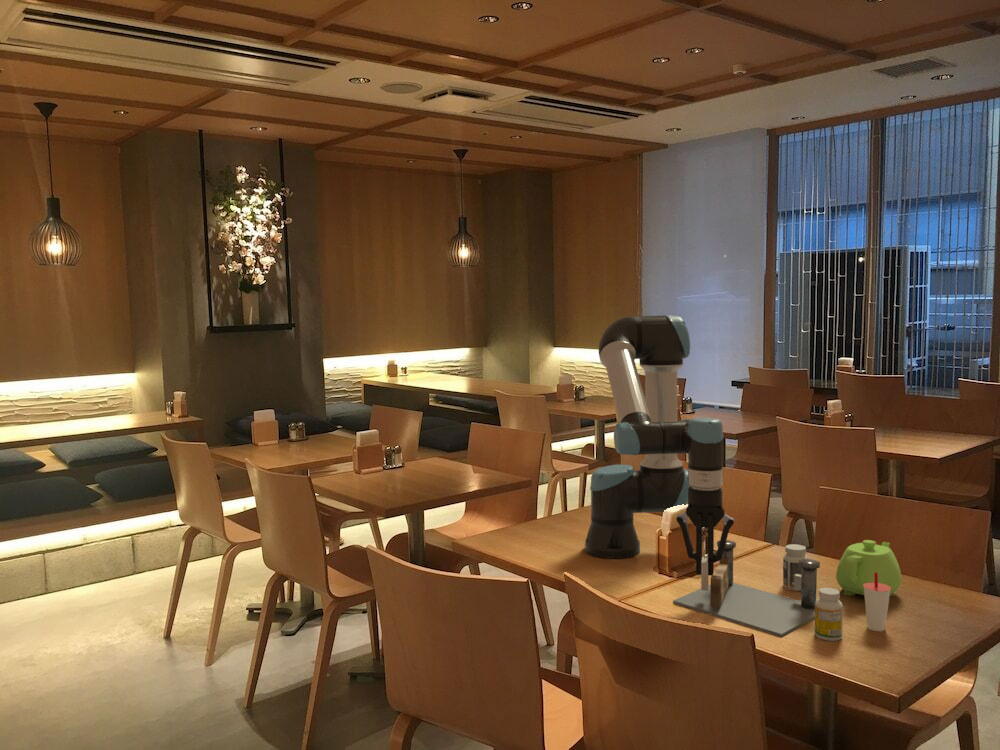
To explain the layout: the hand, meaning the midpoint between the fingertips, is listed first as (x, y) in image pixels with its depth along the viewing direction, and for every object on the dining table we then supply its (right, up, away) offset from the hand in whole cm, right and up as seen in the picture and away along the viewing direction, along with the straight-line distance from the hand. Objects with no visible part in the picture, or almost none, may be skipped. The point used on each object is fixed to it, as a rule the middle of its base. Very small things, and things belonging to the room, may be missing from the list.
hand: (704, 588), depth 191 cm
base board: (+9, -4, -2) cm, 10 cm away
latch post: (+22, -4, -3) cm, 22 cm away
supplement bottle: (+21, -5, -19) cm, 28 cm away
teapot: (+39, -3, +5) cm, 40 cm away
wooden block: (+4, -2, +2) cm, 5 cm away
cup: (+32, -5, -15) cm, 36 cm away
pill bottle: (+24, -2, +10) cm, 26 cm away
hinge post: (+8, -2, +11) cm, 14 cm away
